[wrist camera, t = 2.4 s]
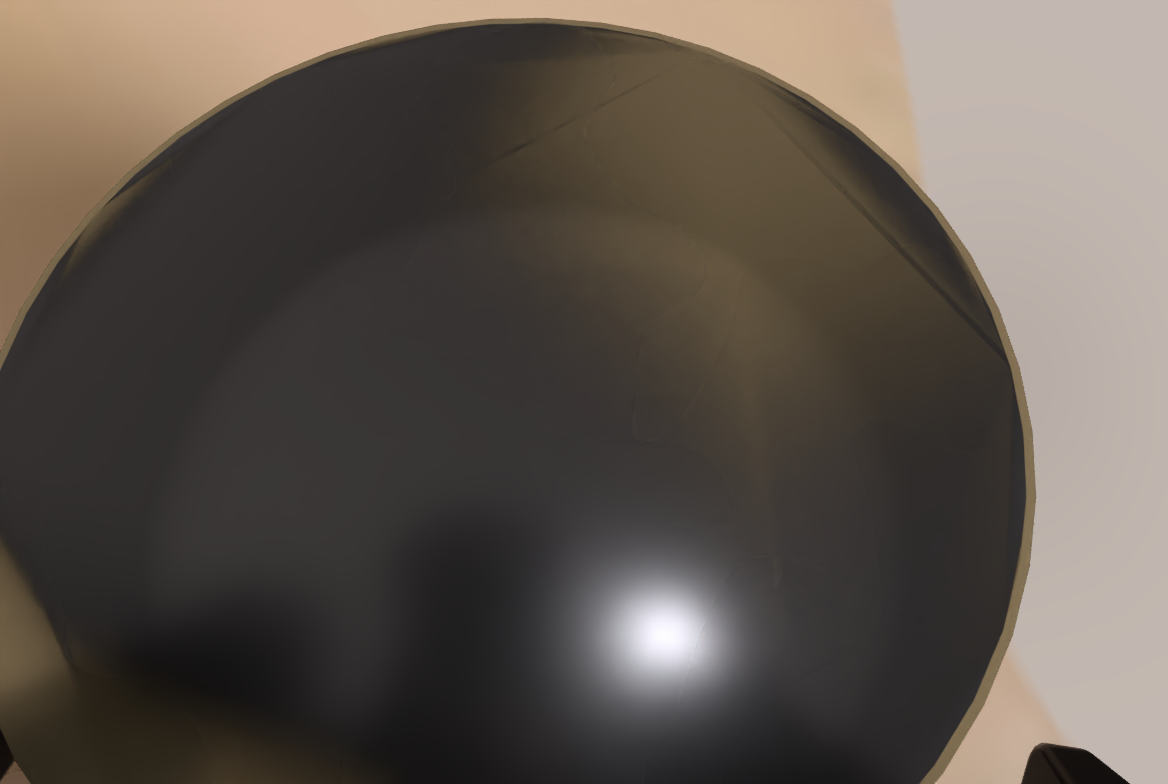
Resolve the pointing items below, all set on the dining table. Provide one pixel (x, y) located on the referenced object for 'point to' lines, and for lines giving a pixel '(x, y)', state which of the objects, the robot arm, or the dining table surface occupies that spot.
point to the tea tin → (509, 437)
